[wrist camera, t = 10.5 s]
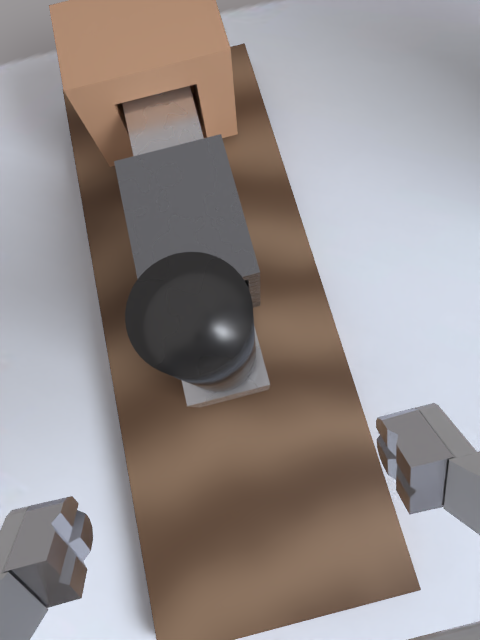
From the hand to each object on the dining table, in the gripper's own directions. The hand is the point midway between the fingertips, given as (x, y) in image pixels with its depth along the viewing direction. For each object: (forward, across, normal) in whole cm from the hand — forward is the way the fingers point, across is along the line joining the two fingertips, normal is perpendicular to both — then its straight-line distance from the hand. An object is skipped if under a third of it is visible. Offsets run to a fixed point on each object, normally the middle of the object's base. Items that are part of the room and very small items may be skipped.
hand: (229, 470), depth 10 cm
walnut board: (+16, 0, +4) cm, 17 cm away
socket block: (+25, 0, -7) cm, 26 cm away
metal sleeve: (+17, 0, +1) cm, 17 cm away
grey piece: (+17, 0, -1) cm, 17 cm away
